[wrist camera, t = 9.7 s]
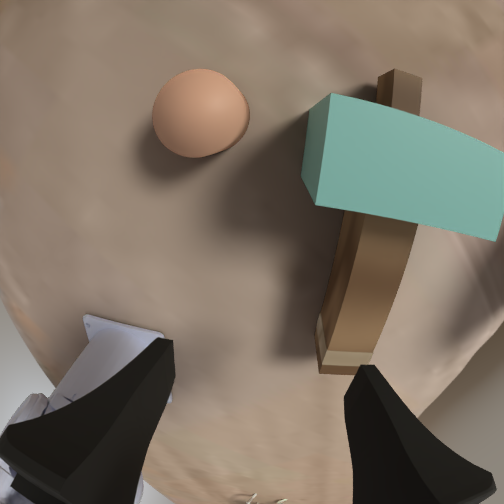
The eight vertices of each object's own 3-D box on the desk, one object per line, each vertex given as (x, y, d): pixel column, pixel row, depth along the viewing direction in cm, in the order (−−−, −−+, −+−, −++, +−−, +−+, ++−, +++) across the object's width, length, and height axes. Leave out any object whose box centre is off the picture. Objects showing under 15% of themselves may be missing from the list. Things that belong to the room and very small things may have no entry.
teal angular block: (432, 202, 16) (495, 241, 10) (300, 176, 16) (315, 205, 10) (443, 143, 14) (514, 158, 8) (309, 109, 15) (330, 93, 8)
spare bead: (245, 155, 16) (237, 161, 13) (174, 150, 16) (149, 155, 13) (253, 83, 14) (247, 70, 11) (180, 80, 15) (157, 70, 11)
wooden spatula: (352, 337, 21) (362, 375, 17) (313, 334, 21) (318, 374, 17) (408, 89, 13) (441, 81, 10) (362, 76, 14) (385, 61, 10)
